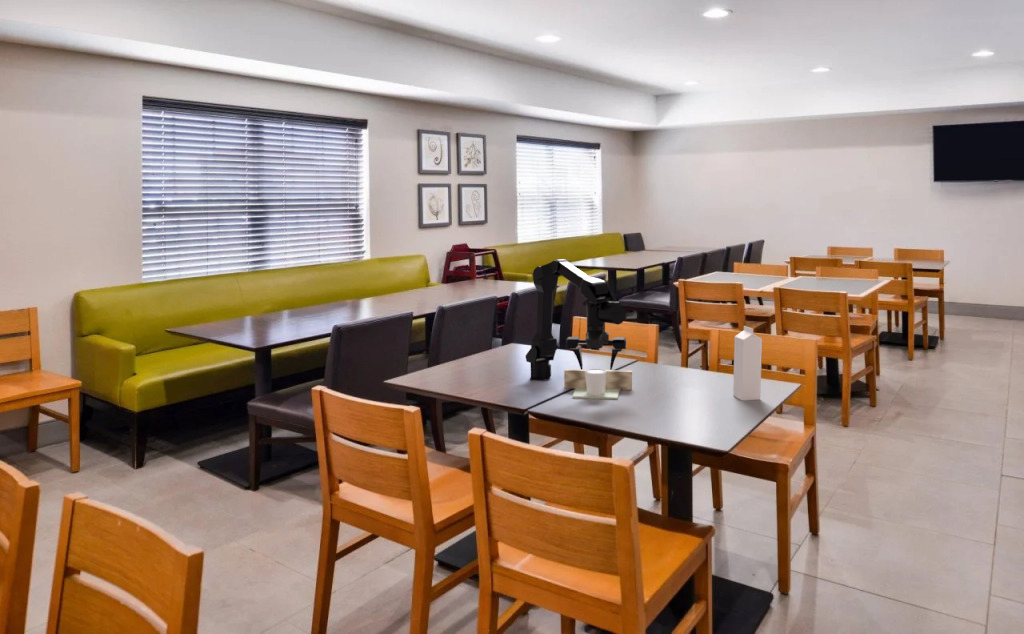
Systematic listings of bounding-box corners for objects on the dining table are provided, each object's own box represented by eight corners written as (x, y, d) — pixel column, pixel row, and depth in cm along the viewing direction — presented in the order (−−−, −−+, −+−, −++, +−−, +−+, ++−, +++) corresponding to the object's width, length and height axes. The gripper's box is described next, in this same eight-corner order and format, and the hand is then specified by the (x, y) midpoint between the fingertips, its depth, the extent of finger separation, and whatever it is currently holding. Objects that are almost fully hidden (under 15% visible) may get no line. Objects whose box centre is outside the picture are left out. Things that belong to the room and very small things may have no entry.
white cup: (605, 395, 226) (605, 373, 225) (583, 395, 228) (583, 373, 227) (607, 390, 233) (607, 369, 232) (586, 389, 235) (586, 368, 233)
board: (564, 388, 240) (564, 370, 239) (564, 387, 241) (564, 369, 240) (631, 389, 235) (631, 371, 235) (631, 388, 237) (632, 370, 236)
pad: (572, 398, 227) (572, 396, 227) (575, 390, 237) (575, 388, 237) (617, 399, 224) (617, 397, 224) (619, 391, 234) (619, 389, 234)
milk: (750, 394, 226) (753, 325, 223) (760, 399, 220) (763, 328, 217) (732, 396, 225) (734, 325, 222) (741, 400, 219) (744, 329, 216)
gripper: (563, 324, 221) (563, 374, 223) (625, 325, 217) (625, 376, 220) (567, 319, 232) (568, 367, 234) (626, 319, 228) (626, 368, 230)
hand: (596, 369), depth 229 cm, fingers open, 9 cm apart
